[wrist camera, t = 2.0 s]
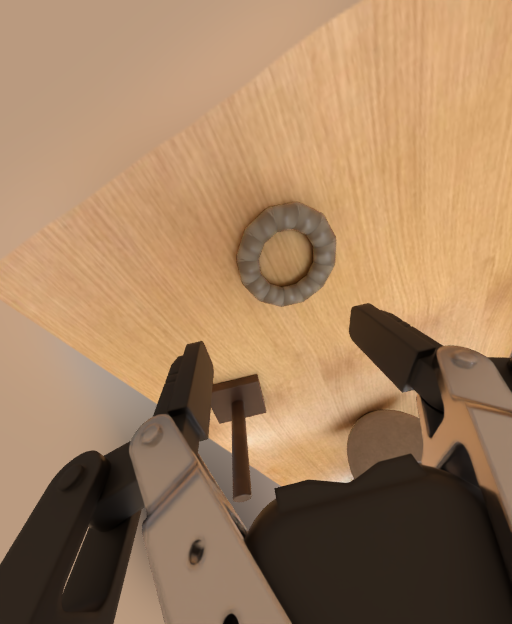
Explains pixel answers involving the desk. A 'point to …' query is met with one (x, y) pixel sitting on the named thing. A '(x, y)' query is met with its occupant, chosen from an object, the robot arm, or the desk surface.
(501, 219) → the desk surface
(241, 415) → the stand
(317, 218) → the grey bumpy ring
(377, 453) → the planter
